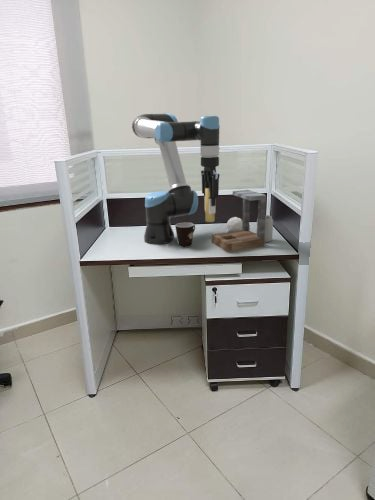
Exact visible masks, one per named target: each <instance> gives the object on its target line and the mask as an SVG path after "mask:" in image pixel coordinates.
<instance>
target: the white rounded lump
mask: <svg viewBox="0 0 375 500" xmlns="http://www.w3.org/2000/svg"><path fill="white" fill-rule="evenodd" d="M242 221H243V219H242V218H240V217H237V216H234V217H233V216H232V217H230V218H229V219H228V220H227V222H226V229H227V232H231V231H237V230H242ZM249 231H251V225H250V224H249Z"/></svg>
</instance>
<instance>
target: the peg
mask: <svg viewBox="0 0 375 500" xmlns="http://www.w3.org/2000/svg"><path fill="white" fill-rule="evenodd" d="M209 197H210V191H209V188H206V189H205V196H204V213H205V222H207V223H213V222H215V220H216V219H215V217H216V216H215V215H216V213H212V214H209Z"/></svg>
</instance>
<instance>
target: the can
mask: <svg viewBox="0 0 375 500" xmlns="http://www.w3.org/2000/svg"><path fill="white" fill-rule="evenodd" d="M257 226H258V218H257V219H256V227H257ZM273 226H274V219H273V216H271V215H267V214H265V238H264V244H265V243H269V242H271V241H273V230H274V229H273V228H274V227H273ZM256 234H257V230H256Z"/></svg>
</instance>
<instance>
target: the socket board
mask: <svg viewBox="0 0 375 500" xmlns="http://www.w3.org/2000/svg"><path fill="white" fill-rule="evenodd" d="M232 196H235V197H238V198H240V199H242V230H237V231H231V232H229V231H225V232H218V233H213V234H211V243H212V244H214V245H215V246H217V247H218V248H220V249H222V251H224V252H225V253H233V252H234V253H235V252H238V251H239V252H240V251H243V250H244V251H245V250H251V249H255V248H261V247H265V243H264V238H265V215H267V211H266V209H267V195H266V194H264V193H260V192H257V191H253V190H250V189H242V190H240V189H239V190H233V191H232ZM251 201H258V202H257V203H258V205H257V219H258V226H257V225H256V231H257V234H256V233H255V232H253V231H252V230H249V225H250V215H251V213H250V210H251V209H250V208H251V207H250V206H251V205H250V204H251Z"/></svg>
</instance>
